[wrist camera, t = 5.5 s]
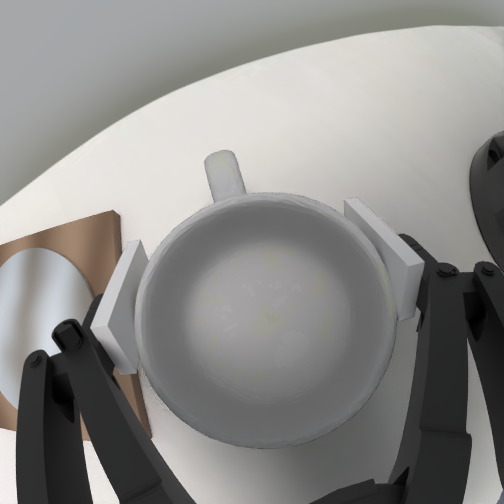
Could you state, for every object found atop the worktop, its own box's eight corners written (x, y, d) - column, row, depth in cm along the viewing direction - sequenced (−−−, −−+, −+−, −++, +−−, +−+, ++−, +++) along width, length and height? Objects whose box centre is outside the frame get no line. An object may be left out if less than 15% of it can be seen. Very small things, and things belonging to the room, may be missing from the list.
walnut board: (119, 215, 21) (108, 205, 20) (152, 437, 17) (141, 446, 15) (-14, 256, 21) (-27, 251, 19) (3, 424, 17) (-11, 427, 15)
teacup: (353, 396, 18) (404, 430, 10) (186, 409, 18) (140, 451, 10) (330, 192, 21) (359, 124, 13) (176, 205, 21) (135, 143, 14)
